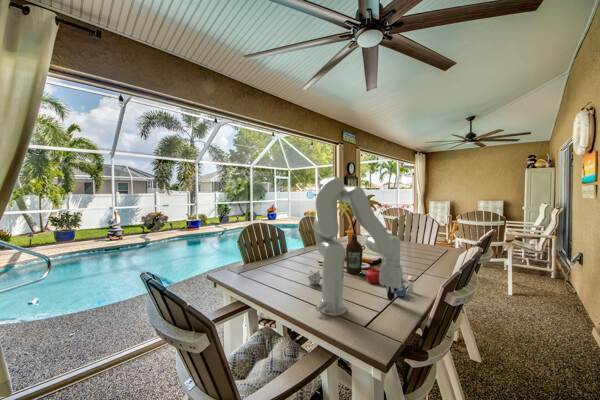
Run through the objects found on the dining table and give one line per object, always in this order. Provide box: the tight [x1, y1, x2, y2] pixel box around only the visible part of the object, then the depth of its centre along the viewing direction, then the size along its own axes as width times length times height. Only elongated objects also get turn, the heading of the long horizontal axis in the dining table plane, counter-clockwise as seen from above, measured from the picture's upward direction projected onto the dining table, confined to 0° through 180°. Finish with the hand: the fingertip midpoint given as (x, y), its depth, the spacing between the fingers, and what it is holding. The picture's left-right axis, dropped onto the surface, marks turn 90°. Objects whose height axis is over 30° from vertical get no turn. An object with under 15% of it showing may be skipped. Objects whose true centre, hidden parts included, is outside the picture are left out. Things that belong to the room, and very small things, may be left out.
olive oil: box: [345, 233, 363, 276], centre depth 155 cm, size 11×11×25 cm
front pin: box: [403, 275, 407, 287], centre depth 125 cm, size 2×2×8 cm
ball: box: [395, 285, 407, 297], centre depth 121 cm, size 6×6×6 cm
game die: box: [307, 269, 322, 286], centre depth 136 cm, size 9×8×10 cm
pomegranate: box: [365, 265, 380, 284], centre depth 140 cm, size 10×10×9 cm
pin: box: [407, 275, 414, 294], centre depth 126 cm, size 2×2×8 cm
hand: (390, 299), depth 114 cm, fingers closed
